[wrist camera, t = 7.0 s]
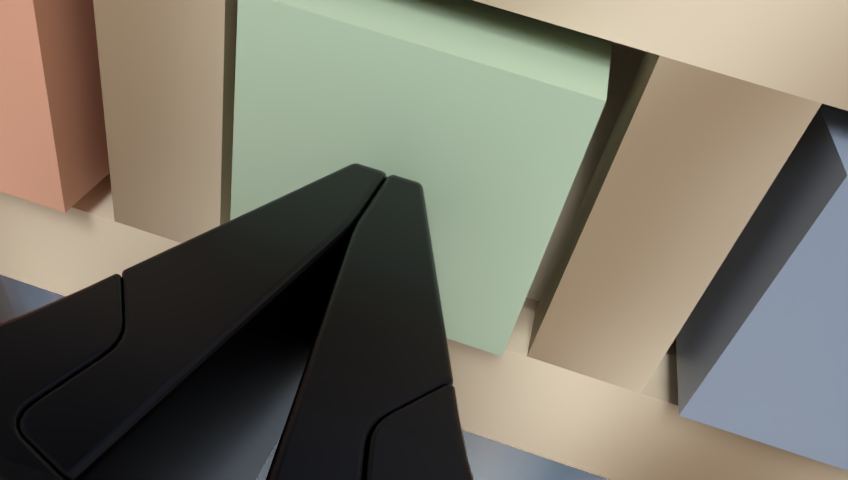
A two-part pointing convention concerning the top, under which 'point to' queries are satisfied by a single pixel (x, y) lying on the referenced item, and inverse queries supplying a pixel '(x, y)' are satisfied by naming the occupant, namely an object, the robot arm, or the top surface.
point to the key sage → (425, 127)
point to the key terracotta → (50, 102)
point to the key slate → (780, 311)
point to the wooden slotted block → (573, 234)
